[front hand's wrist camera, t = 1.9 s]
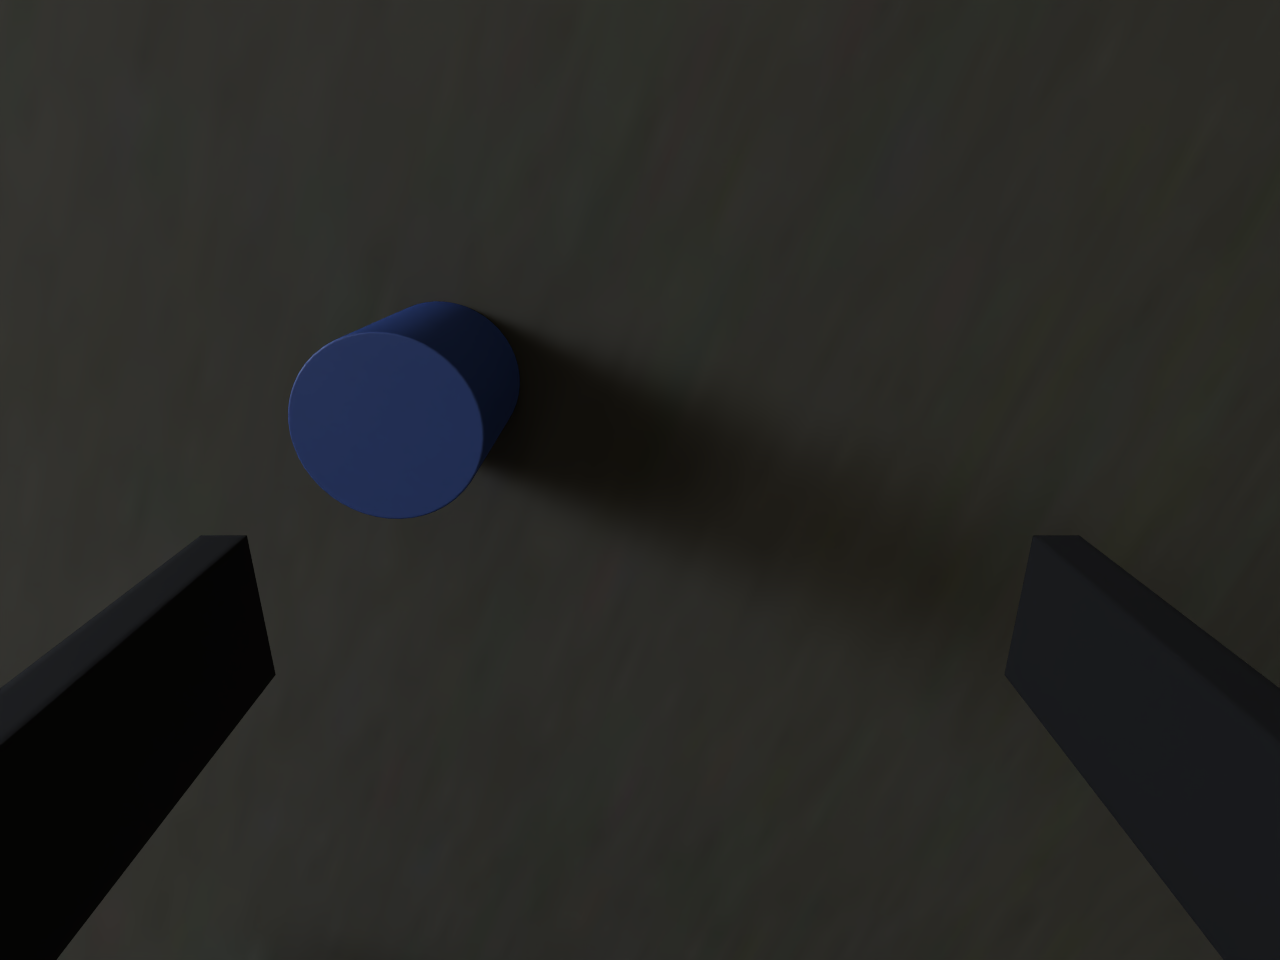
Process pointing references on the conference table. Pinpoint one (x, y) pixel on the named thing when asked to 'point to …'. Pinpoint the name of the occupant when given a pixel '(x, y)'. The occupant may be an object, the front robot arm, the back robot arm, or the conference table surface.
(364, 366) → the canister
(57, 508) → the conference table surface
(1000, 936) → the conference table surface
